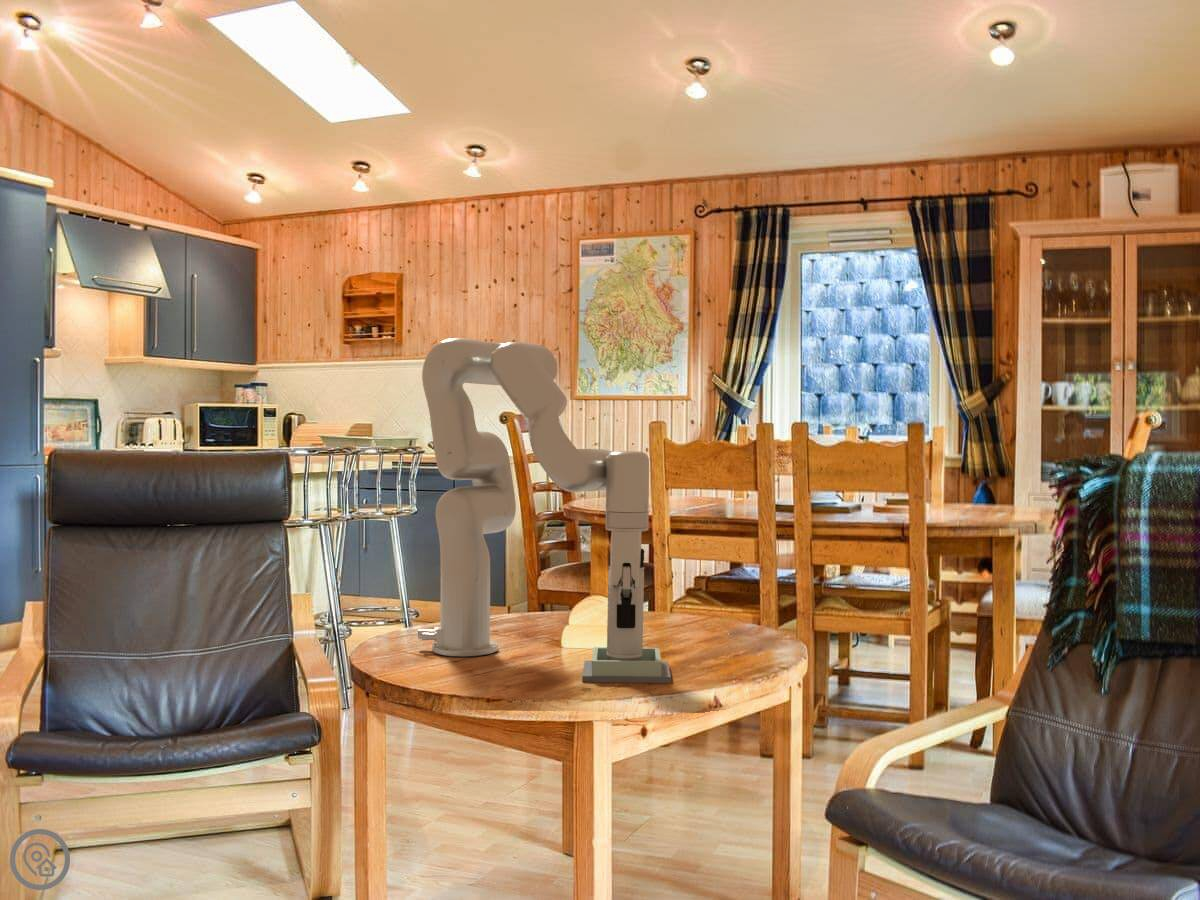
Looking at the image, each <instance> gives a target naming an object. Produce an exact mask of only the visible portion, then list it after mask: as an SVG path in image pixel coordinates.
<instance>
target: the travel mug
mask: <svg viewBox="0 0 1200 900" xmlns="http://www.w3.org/2000/svg"><path fill="white" fill-rule="evenodd" d="M608 561H609V562H608V574H607V577H608V578H607V583H608V584H607V618H606V619H607V623H606V624H607V627H606V647H607V651H608V652H607V660H626V661H642V651H643V648H644V647H643V644H644V643H643V639H644V637H643V636H644V604H645V603H644V602H645V601H644V597H645V596H644V595H645V594H644V593H645V591H644V588H645V563H644V562H645V549H644V548H641V562H640V575H639V583H638V587H637V588H635V586H634V588H635V589H634V605H635V628H617V604H618V587H619V583H618V585H617V586H615V585H614V588H612V587H611V586H610V550H609V551H608ZM622 574H623V573H622ZM630 574H631V564H630ZM634 584H635V580H634ZM621 586H623V583H621ZM630 586H632V583H630ZM621 592H622V591H621ZM621 601H622V597H621ZM621 604H622V603H621Z"/></svg>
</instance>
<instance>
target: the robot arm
mask: <svg viewBox="0 0 1200 900" xmlns="http://www.w3.org/2000/svg"><path fill="white" fill-rule="evenodd" d="M422 366H423V367H422V371H421V372H422V373H421V378H422V387H423V391H424V396H425V399H426V402H427V408H428V411H429V412H428V413H429V420H430V427H431V434H432V441H433V449H434V457H435V461H436V466H437V470H438V472H439V473H440V475H441V476H442V477H444V478H445V479H448V480H451V481H452V480H453V481H467V480H470V481H471V482H472V485H469V486H459V487H454V488H451V489H449V490H447V491H446V492H444V493H443V494H442V495H441V496H440V498H439V499H438V502H437V503H436V506H435V522H436V527H437V532H438V539H439V549H440V552H439V553H440V555H439V556H440V614H439V615H440V616H439V617H440V619H439V620H440V621H439V622H440V625H439V626H438V627H434V629H427V628H419V629H418V630H417V639H418V640H421V641H433V642H434V643H433V644H432V646H431V651H432V652H433V653H434V654H437V655H439V656H448V657H477V656H478V657H479V656H486V655H490V654H493V653H496V652H498V650H499V644H498V643H497V641H494V640H490V639H491V637H490V636H491V635H490V634H491V556H490V551H489V547H488V545H487V542H486V538H485V536H484V535H487V534H488V535H489V534H496V533H500V532H501V533H502V532H503V531H505V530H506V529H508V528H509V527H510V526H511V525H512V524H513V522H514V520H515V516H516V512H517V511H516V510H517V509H516V508H517V504H516V503H517V502H516V496H515V495H516V494H515V488H514V487H515V486H514V480H513V474H512V465H511V461H510V455H509V452H508V449H507V447H506V445H505V443H504V441H503V440H502V439H501V438H500V437H499V436H498V435H496V434H495V433H493V432H489V431H482V430H481V431H478V428H477V425H476V420H475V412H474V407H473V404H472V401H471V399H470V397H469V396H468V394H467V392H466V391H465V389H464V386H463V385H464V384H473V385H474V384H475V385H488V386H501V388H502V390H503V391H504V392H505V393H506V396H508V398H509V399H510V401H511V402H512V403H513V405H514V406H515V408H516V409H517V410H518V411H519V413H520V414H521V415H522V417H523V419H524V420H525V422H526V423H527V425H528V437H529V442H530V447H531V450H532V453H533V455H534V457H535V459H536V460H537V462H538V464H539V465H540V466H541V468H542V469H543V471H544V472H545V473H546V475H547V476H548V477H549V479H550V481H552V482H553V484H554V485H556V486H557V487H559V488H560V489H561V490H563V491H565V492H570V493H581V492H596V491H597V492H598V491H605V531H609V532H611V534H610V547H609V548H610V549H609V551H610V561H609V562H610V586H611V587H612V588H614V585H615V586H617V585H618V583H619V587H618V604H617V628H635V605H634V589H635V588H637V587H638V583H639V575H640V562H641V549H642V532H647V531H649V519H650V518H649V513H650V512H649V506H650V505H649V502H650V501H649V500H650V499H649V498H650V458H649V455H648V454H647V453H646V452H644V451H640V450H639V451H638V450H616V451H615V450H614V451H613V450H608V449H603V448H602V449H601V448H577V447H576V446H575V445H574V443H573V442H572V441H571V440H570V438H569V437H568V435H567V434H566V433H565V431H564V429H563V427H562V426H561V423H560V420H559V418H560V417H561V416H562V414H563V413H564V412H565V409H566V407H567V405H568V399H567V396H566V395H565V393H564V392H563V391H562V390H561V388H560V386H558V384H557V383H556V381H555V379H556V377H557V375H558V368H559V367H558V363H557V359H556V357H555V355H554V353H553V352H552V351H551V350H550V349H549V348H547V347H545V346H543V345H541V344H535V343H527V342H521V341H520V342H519V341H510V342H506V343H504V342H494V341H493V342H492V341H487V340H479V339H478V340H477V339H473V338H466V337H465V338H463V337H462V338H461V337H452V338H447V339H443V340H442V341H439V342H437V343H436V344H435V345H434V346H433V347H432V348H431V349H430V350H429V352H428V353H427V355H426V357H425V359H424V363H423V365H422ZM630 564H631V574H630ZM622 573H623V574H622ZM634 580H635V584H634ZM621 583H623V586H621ZM630 583H632V586H630ZM634 586H635V588H634ZM621 591H622V592H621ZM621 597H622V601H621ZM621 603H622V604H621Z"/></svg>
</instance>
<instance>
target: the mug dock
mask: <svg viewBox="0 0 1200 900" xmlns="http://www.w3.org/2000/svg"><path fill="white" fill-rule="evenodd" d="M607 652H608V651H607V646H605V647H603V646H602V647H601V646H600V647H599V646H598V647H597V646H595V647H594V646H593V650H592V658H591V660H584V662H583V663H584V664H583V669H582V676H581V677H582V678H581V681H585V682H584V683H626V684H627V683H636V684H637V683H639V684H641V683H642V684H643V683H644V684H646V683H647V684H671V683H672V677H671V675H672V674H671V671H670V665H669V662H668V661H666V660H665V661H664V660H662V656H661V651H660V647H643V651H642V661H626V660H607Z"/></svg>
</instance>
